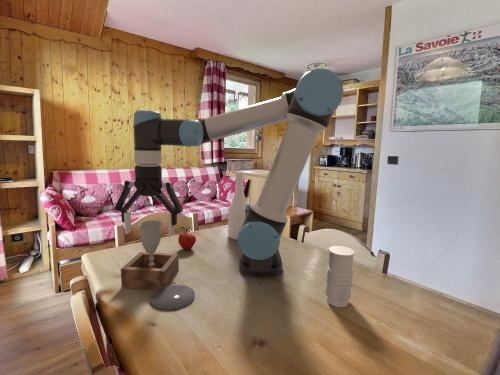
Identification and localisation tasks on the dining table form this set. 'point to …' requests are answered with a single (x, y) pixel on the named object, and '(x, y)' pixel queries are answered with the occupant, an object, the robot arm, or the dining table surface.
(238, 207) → the wine bottle
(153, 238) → the chalice
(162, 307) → the coaster
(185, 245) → the apple
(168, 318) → the dining table surface
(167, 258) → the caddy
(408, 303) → the dining table surface
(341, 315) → the dining table surface
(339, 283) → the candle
